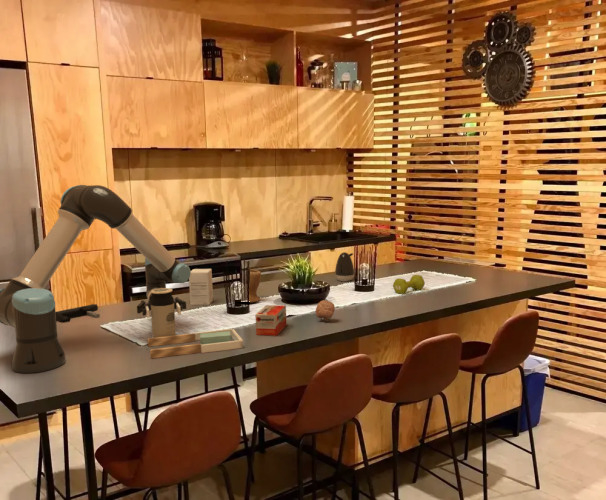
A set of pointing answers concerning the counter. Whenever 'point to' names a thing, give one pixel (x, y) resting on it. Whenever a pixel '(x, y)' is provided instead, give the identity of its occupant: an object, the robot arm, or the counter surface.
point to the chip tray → (222, 345)
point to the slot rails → (173, 350)
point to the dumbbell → (408, 284)
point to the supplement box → (201, 287)
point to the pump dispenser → (344, 267)
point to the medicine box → (270, 320)
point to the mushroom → (325, 310)
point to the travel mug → (162, 313)
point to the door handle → (77, 313)
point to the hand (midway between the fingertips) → (163, 312)
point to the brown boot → (254, 285)
